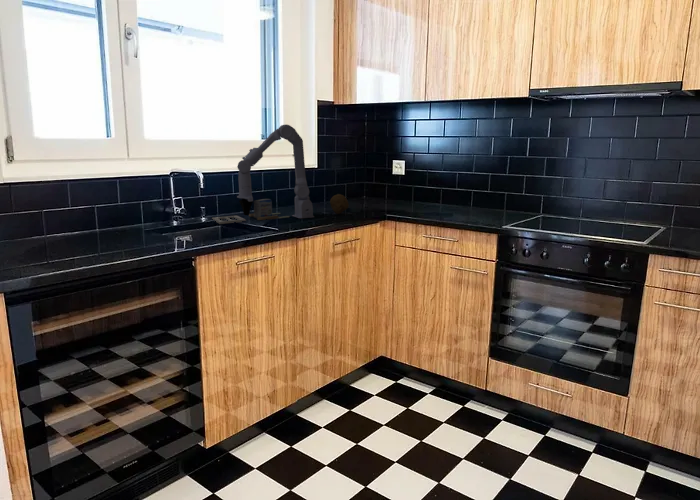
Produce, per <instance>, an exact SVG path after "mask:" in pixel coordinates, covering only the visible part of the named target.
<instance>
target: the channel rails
mask: <svg viewBox="0 0 700 500" xmlns="http://www.w3.org/2000/svg"><path fill="white" fill-rule="evenodd" d="M248 216H249V217H250V218H252V217H253V218H254V213H250V214H249V215H248ZM278 217H279V215H272V216H266V217H257V218H256V220H257V221H266V219H267V220H276V219H279V218H278Z"/></svg>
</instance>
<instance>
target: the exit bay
mask: <svg viewBox="0 0 700 500" xmlns="http://www.w3.org/2000/svg"><path fill="white" fill-rule="evenodd" d="M276 215H281V212H275V213H273V212H272V216H276ZM290 217H291V216H290V215H284V216H278V218H277V219H285V218H290Z"/></svg>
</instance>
